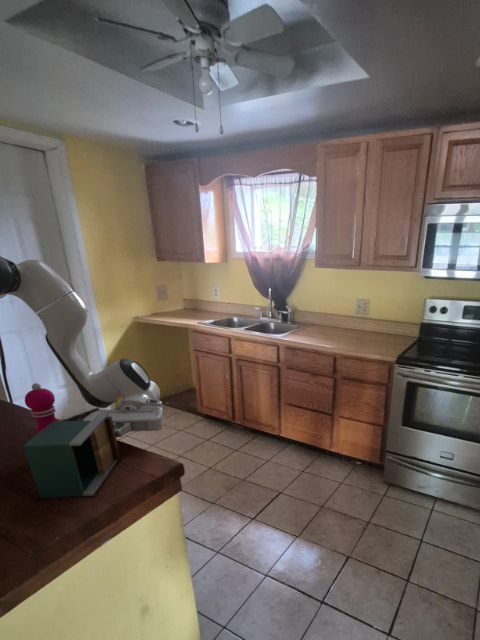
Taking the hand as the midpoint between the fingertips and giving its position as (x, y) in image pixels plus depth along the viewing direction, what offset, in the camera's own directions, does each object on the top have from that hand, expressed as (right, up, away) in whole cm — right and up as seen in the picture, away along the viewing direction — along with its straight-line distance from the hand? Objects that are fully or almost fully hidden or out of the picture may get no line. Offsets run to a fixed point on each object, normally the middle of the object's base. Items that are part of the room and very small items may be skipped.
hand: (114, 434), depth 94 cm
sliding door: (+1, -7, -3) cm, 8 cm away
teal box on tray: (-4, -9, -7) cm, 12 cm away
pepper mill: (-16, -6, +2) cm, 17 cm away
